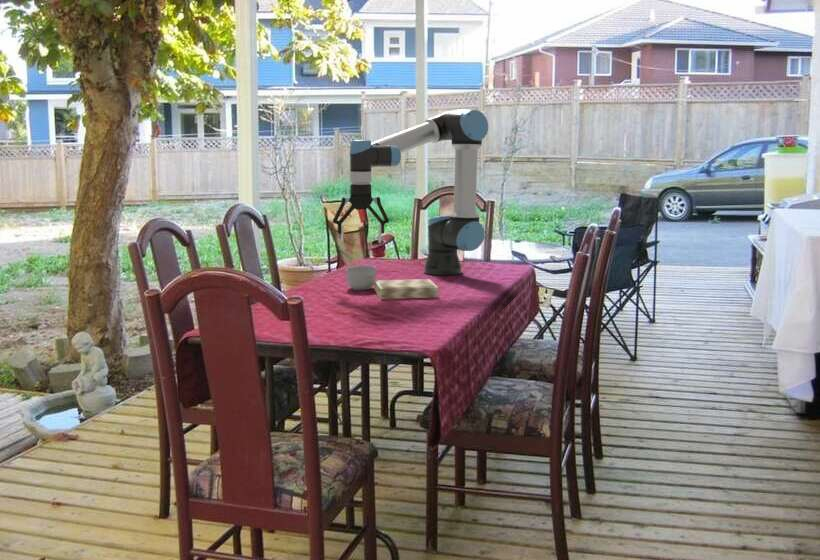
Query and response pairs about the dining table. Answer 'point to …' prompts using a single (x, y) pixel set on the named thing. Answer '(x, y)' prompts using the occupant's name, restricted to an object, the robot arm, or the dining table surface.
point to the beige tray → (406, 289)
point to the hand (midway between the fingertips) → (361, 242)
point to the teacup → (361, 277)
